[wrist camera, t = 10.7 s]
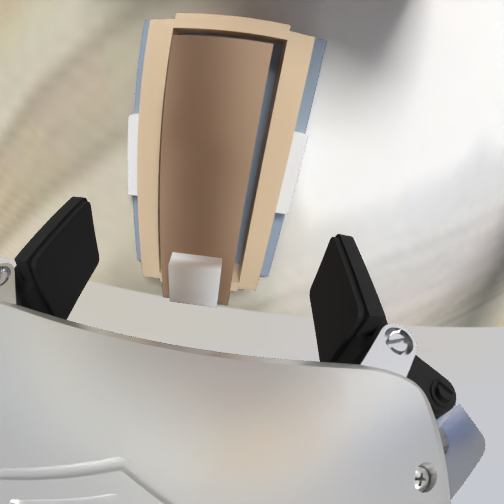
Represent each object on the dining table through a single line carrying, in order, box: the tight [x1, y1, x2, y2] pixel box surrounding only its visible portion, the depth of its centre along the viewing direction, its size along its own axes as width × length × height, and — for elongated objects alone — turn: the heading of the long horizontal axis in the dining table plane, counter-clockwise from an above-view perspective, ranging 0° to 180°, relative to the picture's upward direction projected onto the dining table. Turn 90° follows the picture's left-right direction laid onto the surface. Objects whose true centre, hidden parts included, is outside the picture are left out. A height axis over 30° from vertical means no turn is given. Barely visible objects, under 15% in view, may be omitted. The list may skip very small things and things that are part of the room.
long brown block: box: [160, 35, 274, 307], centre depth 16 cm, size 4×16×7 cm, turn 171°
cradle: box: [128, 13, 326, 292], centre depth 18 cm, size 12×20×3 cm, turn 170°
